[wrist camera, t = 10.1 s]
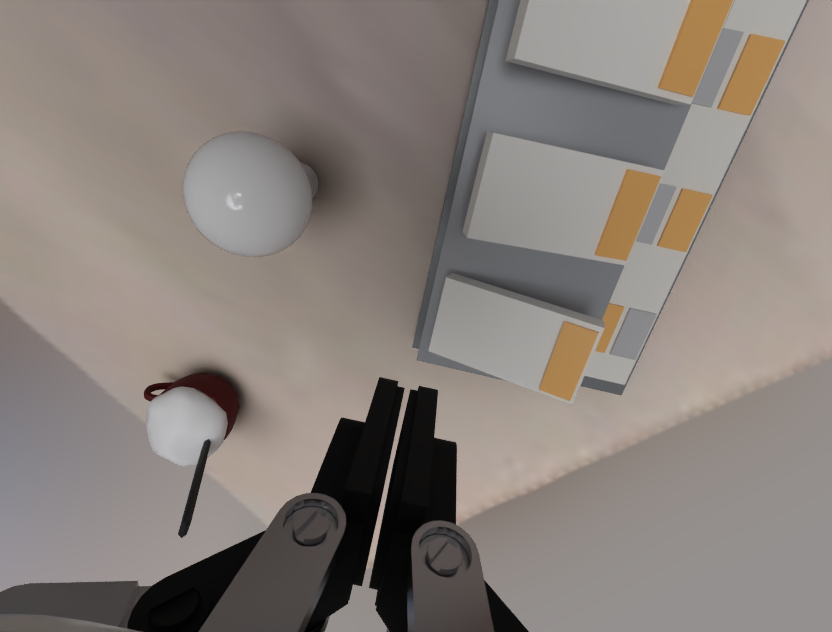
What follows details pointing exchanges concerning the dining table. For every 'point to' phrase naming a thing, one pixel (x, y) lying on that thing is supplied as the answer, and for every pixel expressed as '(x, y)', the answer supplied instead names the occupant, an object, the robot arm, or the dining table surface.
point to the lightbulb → (248, 194)
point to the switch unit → (616, 139)
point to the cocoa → (190, 425)
